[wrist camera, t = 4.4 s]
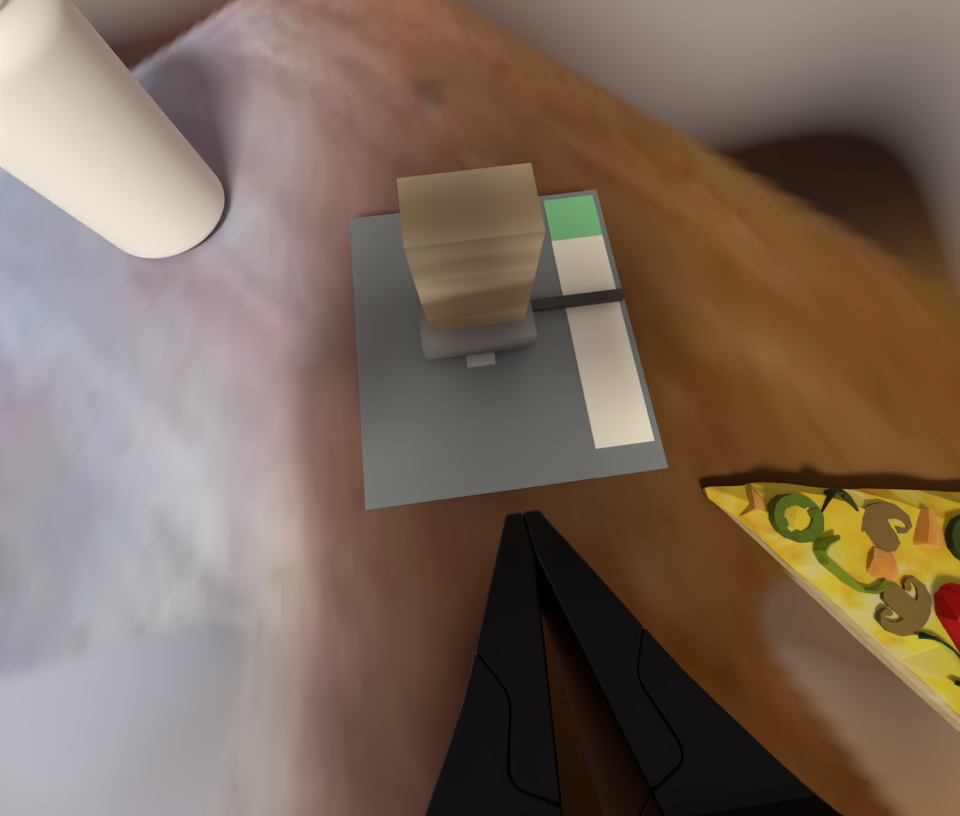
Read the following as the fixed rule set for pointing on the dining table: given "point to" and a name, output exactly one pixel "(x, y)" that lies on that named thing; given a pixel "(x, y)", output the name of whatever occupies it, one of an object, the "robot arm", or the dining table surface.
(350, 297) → the dining table surface
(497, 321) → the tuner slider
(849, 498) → the pizza slice
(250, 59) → the dining table surface
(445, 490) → the board
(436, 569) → the dining table surface
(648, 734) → the robot arm
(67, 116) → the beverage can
